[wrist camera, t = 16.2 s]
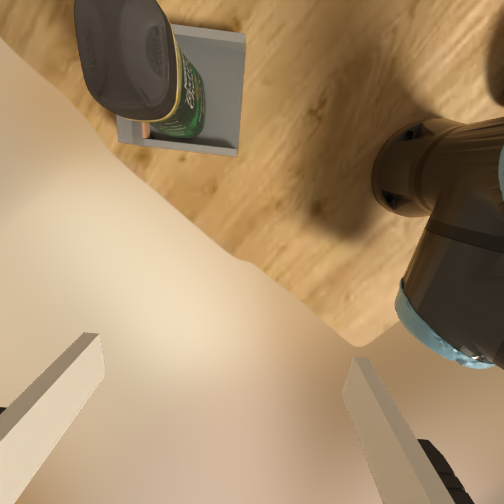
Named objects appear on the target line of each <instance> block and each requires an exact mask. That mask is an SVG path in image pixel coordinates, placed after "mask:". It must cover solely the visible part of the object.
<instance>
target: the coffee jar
mask: <svg viewBox="0 0 504 504" xmlns="http://www.w3.org/2000/svg"><path fill="white" fill-rule="evenodd" d="M74 19H75V28H76V36H77V43H78V50H79V56H80V61H81V66H82V70H83V75H84V79H85V83H86V85H87V88H88V90H89V92H90V93H91V95H92V96H93V97H94V99H95V100H96V101H97V102H98V103H100V104H101V105H102V106H103V107H105V108H107V109H109V110H110V111H112V112H113V113H115V114H116V115H118V116H120V117H122V118H124V119H128V120H132V121H137V122H146V123H149V124H150V125H152V126H153V127H155V128H156V129H157V130H159V131H160V132H162V133H163V134H165V135H167V136H170V137H173V138H184V139H186V138H193V137H196V136H198V135H199V134H200V133H201V132H202V130H203V128H204V124H205V113H206V102H205V90H204V84H203V80H202V78H201V76H200V74H199V73H198V71H197V70H196V69H195V67H194V66H193V65H192V64H191V63H190V62H189V60H188V59H187V58H186V57H185V55H184V54H183V53H182V51H181V49H180V47H179V45H178V42H177V39H176V37H175V34H174V31H173V28H172V26H171V23H170V21H169V19H168V18H167V16H166V15H165V13H164V12H163V11H162V9H161V7H160V6H159V4H158V3H157V1H156V0H75V3H74Z"/></svg>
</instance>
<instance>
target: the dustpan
mask: <svg viewBox="0 0 504 504" xmlns="http://www.w3.org/2000/svg"><path fill="white" fill-rule="evenodd" d="M171 26H172V28H173V31H174V34H175V37H176V39H177V42H178V45H179V47H180V49H181V51H182V53H183V54H184V55H185V57H186V58H187V59H188V60H189V62H190V63H191V64H192V65H193V66H194V67H195V69H196V70H197V71H198V73H199V74H200V76H201V78H202V80H203V84H204V90H205V102H206V113H205V124H204V128H203V130H202V132H201V133H200V134H199V135H198V136H196V137H193V138H186V139H184V138H173V137H170V136H167V135H165V134H163V133H162V132H160V131H159V130H157V129H156V128H155V127H153V126H152V125H150V124H149V123H146V122H137V121H132V120H128V119H124V118H122V117H120V116H118V115H116V121H117V133H118V142H121V143H126V144H132V145H138V146H144V147H153V148H162V149H171V150H180V151H188V152H197V153H206V154H215V155H223V156H232V157H238V144H239V131H240V118H241V105H242V93H243V80H244V67H245V54H246V37H245V33H237V32H229V31H222V30H214V29H206V28H199V27H191V26H183V25H176V24H171Z"/></svg>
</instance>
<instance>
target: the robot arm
mask: <svg viewBox="0 0 504 504" xmlns="http://www.w3.org/2000/svg"><path fill="white" fill-rule="evenodd" d="M372 188H373V192H374V194H375V197H376V199H377V200H378V202H379V203H380V204H381V205H382V206H383V207H384V208H385V209H387V210H388V211H390V212H392V213H395V214H398V215H401V216H405V217H424V216H430V217H429V220H428V222H427V224H426V227H425V229H424V231H423V233H422V236H421V238H420V240H419V243H418V245H417V247H416V250H415V252H414V254H413V256H412V259H411V261H410V263H409V265H408V268H407V270H406V272H405V274H404V276H403V277H402V278H401V280H400V288H399V291H398V294H397V296H396V299H395V310H396V312H397V315H398V318H399V319H400V321H401V322H402V324H403V325H404V326H405V328H406V329H407V330H408V331H409V332H410V333H411V334H412V335H413V336H414V337H415V338H417V339H418V340H419V341H420V342H421V343H423V344H424V345H425V346H427V347H428V348H430V349H431V350H433V351H434V352H436V353H437V354H439V355H441V356H443V357H445V358H447V359H449V360H456V361H457V362H459V364H461V365H463V366H466V367H470V368H474V369H485V368H488V367H492V366H494V365H497V366H498V367H500V368H502V369H503V370H504V117H501V118H496V119H491V120H486V121H481V122H476V123H472V124H464V123H460V122H456V121H452V120H448V119H441V118H439V119H428V120H424V121H420V122H416V123H413V124H410V125H408V126H406V127H404V128H402V129H401V130H399V131H398V132H396V133H395V134H394V135H393V136H392V137H391V138H390V139H389V140H388V141H387V142H386V143H385V144H384V146H383V147H382V148H381V150H380V152H379V154H378V155H377V158H376V160H375V163H374V166H373V170H372ZM104 376H105V368H104V362H103V355H102V348H101V342H100V336H99V334H94V333H83V334H82V335H81V336H80V337H79V338H78V339H77V340H76V341H75V342H74V343H73V344H72V345H71V346H70V347H69V348H68V349H67V350H66V351H65V352H64V353H63V354H62V355H61V356H60V357H58V359H57V360H55V361H54V362H53V363H52V364H51V365H50V366H49V367H48V368H47V369H46V370H45V371H44V372H43V373H42V374H41V375H40V376H39V377H38V378H37V379H36V380H35V381H34V382H33V383H32V384H31V385H30V386H29V387H28V388H27V389H26V390H25V391H24V392H23V393H22V394H21V395H20V396H19V397H18V398H17V399H16V400H15V401H14V402H13V403H12V404H11V405H10V406H9V407H8V408H5V407H0V504H14V503H15V502H16V500H17V499H18V497H19V496H20V495H21V493H22V492H23V490H24V489H25V487H26V486H27V485H28V483H29V482H30V480H31V479H32V478H33V476H34V475H35V473H36V472H37V471H38V469H39V468H40V466H41V465H42V464H43V462H44V461H45V459H46V458H47V456H48V455H49V454H50V452H51V451H52V449H53V448H54V446H55V445H56V444H57V442H58V441H59V440H60V438H61V437H62V435H63V434H64V432H65V431H66V430H67V428H68V427H69V425H70V424H71V423H72V421H73V419H74V418H75V417H76V416H77V414H78V413H79V411H80V410H81V408H82V407H83V406H84V404H85V403H86V401H87V400H88V399H89V397H90V396H91V394H92V393H93V392H94V390H95V389H96V387H97V386H98V385H99V383H100V382H101V380H102V379H103V377H104ZM341 395H342V397H343V400H344V403H345V405H346V408H347V410H348V413H349V416H350V418H351V421H352V423H353V426H354V428H355V432H356V434H357V437H358V439H359V442H360V445H361V447H362V450H363V452H364V455H365V457H366V460H367V463H368V465H369V468H370V470H371V473H372V476H373V478H374V481H375V484H376V486H377V488H378V491H379V494H380V497H381V499H382V502H383V504H474V503H473V501H472V499H471V498H470V496H469V494H468V493H466V492H465V489H464V487H463V485H462V484H461V482H460V481H459V479H458V478H457V477H456V476H455V473H454V472H453V470H452V468H451V467H450V465H449V464H448V462H447V461H446V459H445V458H444V456H443V455H442V454H441V453H440V452H439V451H438V450H437V449H436V448H435V447H434V446H433V445H432V444H431V442H430V441H429V440H423V439H416V437H415V435H414V434H413V432H412V431H411V429H410V427H409V425H408V424H407V422H406V420H405V419H404V417H403V415H402V414H401V412H400V411H399V409H398V407H397V405H396V404H395V402H394V400H393V399H392V397H391V395H390V394H389V392H388V390H387V388H386V387H385V385H384V383H383V382H382V380H381V378H380V377H379V375H378V373H377V372H376V370H375V369H374V367H373V365H372V363H371V362H370V360H369V358H365V357H353V360H352V363H351V366H350V369H349V372H348V375H347V378H346V381H345V385H344V388H343V391H342V394H341Z"/></svg>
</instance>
